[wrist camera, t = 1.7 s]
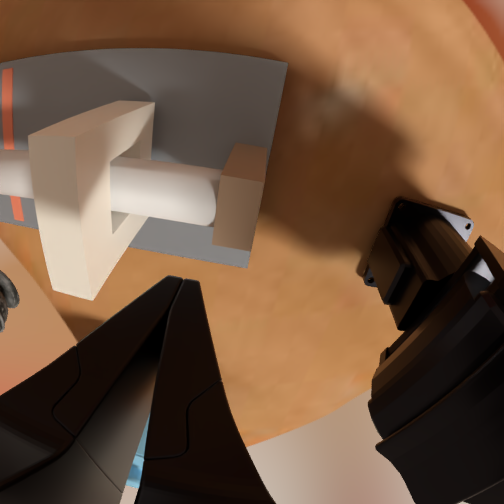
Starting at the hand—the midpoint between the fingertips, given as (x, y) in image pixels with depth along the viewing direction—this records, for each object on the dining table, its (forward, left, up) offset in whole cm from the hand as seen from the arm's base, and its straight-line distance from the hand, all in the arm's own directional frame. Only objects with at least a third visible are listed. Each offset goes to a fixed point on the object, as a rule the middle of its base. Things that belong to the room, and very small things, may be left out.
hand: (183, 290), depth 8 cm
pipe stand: (+9, 0, -11) cm, 14 cm away
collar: (+5, 0, -9) cm, 10 cm away
